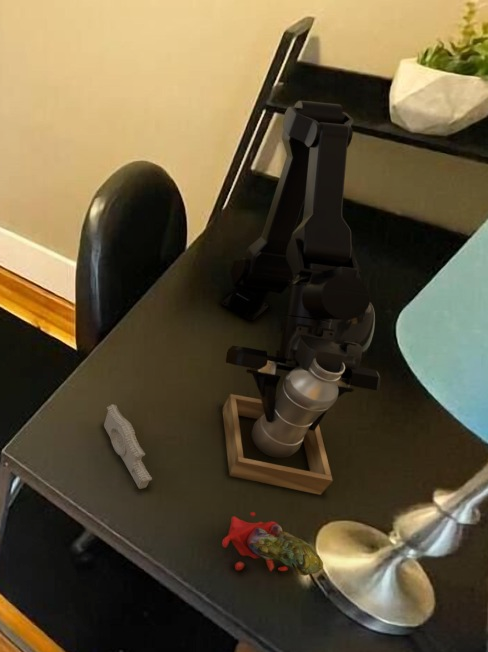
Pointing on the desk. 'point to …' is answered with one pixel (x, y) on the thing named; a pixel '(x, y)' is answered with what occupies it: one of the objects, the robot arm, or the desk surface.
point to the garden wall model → (126, 445)
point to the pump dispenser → (355, 330)
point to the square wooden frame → (269, 472)
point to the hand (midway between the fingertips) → (289, 426)
